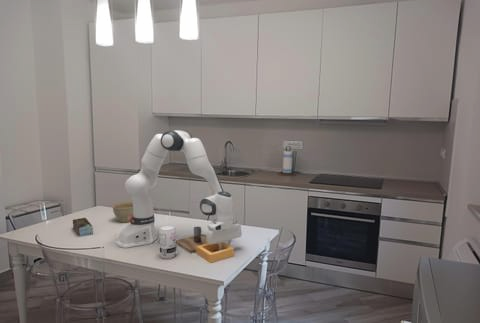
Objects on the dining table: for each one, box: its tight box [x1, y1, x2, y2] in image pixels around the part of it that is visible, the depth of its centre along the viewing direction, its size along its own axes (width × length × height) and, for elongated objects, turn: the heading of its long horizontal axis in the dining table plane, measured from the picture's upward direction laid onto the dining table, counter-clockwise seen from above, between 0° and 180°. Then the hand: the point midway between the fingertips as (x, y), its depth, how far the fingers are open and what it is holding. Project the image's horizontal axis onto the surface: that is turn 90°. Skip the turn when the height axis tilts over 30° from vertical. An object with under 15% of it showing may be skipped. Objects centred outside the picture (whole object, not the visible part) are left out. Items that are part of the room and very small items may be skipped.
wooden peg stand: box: [176, 226, 207, 254], centre depth 190 cm, size 18×18×10 cm
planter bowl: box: [112, 201, 133, 223], centre depth 233 cm, size 16×16×11 cm
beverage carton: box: [72, 217, 94, 238], centre depth 211 cm, size 8×19×7 cm, turn 36°
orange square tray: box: [195, 242, 235, 264], centre depth 176 cm, size 14×14×4 cm
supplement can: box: [158, 224, 177, 260], centre depth 174 cm, size 8×8×15 cm
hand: (224, 248), depth 179 cm, fingers open, 3 cm apart
